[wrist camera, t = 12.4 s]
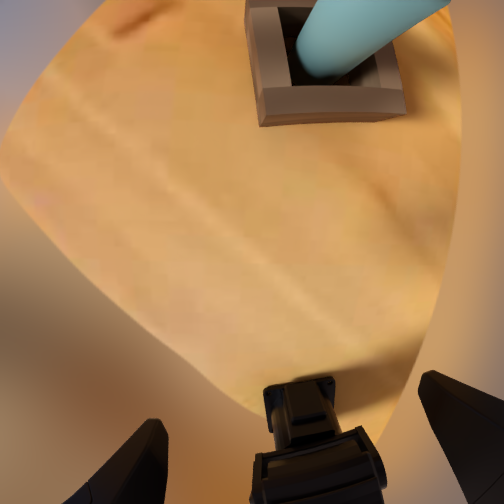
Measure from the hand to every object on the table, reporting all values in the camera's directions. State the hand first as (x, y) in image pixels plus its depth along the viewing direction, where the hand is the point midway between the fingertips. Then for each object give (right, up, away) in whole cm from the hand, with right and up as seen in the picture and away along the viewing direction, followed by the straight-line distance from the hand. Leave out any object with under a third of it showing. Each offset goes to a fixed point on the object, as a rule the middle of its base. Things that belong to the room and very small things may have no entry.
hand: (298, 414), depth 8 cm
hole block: (+3, +18, +8) cm, 20 cm away
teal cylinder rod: (+3, +18, +9) cm, 20 cm away
